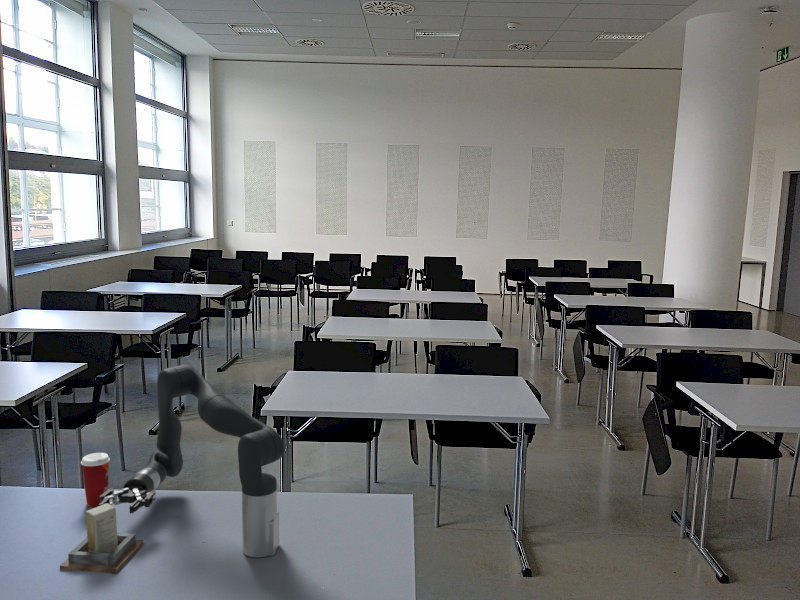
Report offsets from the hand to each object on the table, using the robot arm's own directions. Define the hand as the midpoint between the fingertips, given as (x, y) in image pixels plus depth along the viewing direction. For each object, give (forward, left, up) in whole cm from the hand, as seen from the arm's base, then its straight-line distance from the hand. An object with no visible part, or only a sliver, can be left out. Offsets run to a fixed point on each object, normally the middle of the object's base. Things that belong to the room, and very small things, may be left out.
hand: (115, 509), depth 183 cm
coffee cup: (+18, -23, -10) cm, 30 cm away
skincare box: (0, +7, -9) cm, 11 cm away
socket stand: (0, +7, -10) cm, 12 cm away
